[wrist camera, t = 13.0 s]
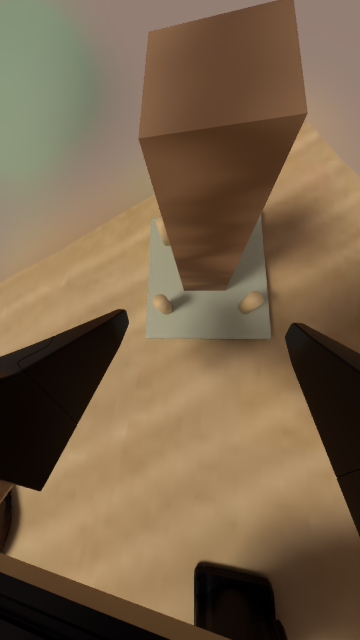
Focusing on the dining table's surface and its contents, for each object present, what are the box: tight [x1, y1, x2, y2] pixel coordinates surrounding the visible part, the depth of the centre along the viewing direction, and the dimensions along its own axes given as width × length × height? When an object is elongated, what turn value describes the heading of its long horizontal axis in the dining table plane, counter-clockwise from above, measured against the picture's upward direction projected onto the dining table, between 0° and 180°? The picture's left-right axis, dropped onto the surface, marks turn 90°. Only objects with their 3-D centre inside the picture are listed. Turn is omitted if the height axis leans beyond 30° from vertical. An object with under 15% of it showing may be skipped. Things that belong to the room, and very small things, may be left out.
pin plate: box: [146, 215, 271, 339], centre depth 16 cm, size 13×15×4 cm
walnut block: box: [139, 0, 307, 291], centre depth 11 cm, size 4×4×13 cm
